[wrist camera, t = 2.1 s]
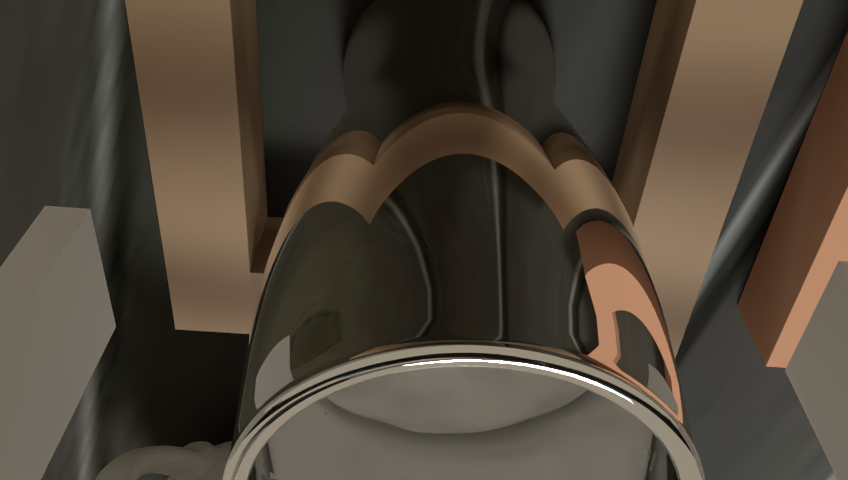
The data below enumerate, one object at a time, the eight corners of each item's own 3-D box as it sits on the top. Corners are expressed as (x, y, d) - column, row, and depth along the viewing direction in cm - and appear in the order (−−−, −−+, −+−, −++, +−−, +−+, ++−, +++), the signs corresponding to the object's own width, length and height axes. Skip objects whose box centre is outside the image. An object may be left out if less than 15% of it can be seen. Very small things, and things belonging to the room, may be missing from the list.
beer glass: (304, -31, 21) (124, 366, 9) (564, -68, 20) (749, 305, 8) (354, 187, 25) (276, 665, 13) (572, 162, 25) (706, 640, 12)
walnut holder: (653, 300, 28) (674, 360, 25) (198, 271, 27) (175, 329, 25) (818, -221, 18) (876, -205, 16) (131, -279, 18) (83, -273, 15)
